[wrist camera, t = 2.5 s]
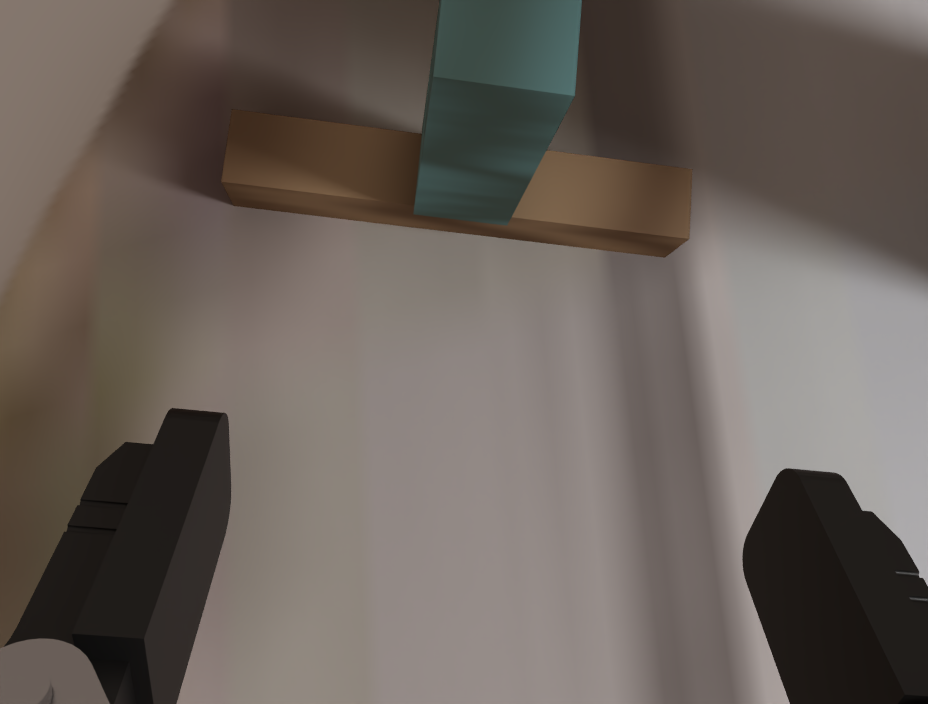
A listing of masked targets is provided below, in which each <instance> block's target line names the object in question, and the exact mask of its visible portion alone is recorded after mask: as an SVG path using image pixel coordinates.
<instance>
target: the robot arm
mask: <svg viewBox="0 0 928 704" xmlns="http://www.w3.org/2000/svg"><path fill="white" fill-rule="evenodd" d="M230 504H231V472H230V446H229V423H228V417H227V414H226V413H218V412H208V411H197V410H187V409H176V408H172V409H170V410H169V411H168V413H167V414H166V416H165V419H164V421H163V423H162V426H161V428H160V430H159V433H158V435H157V437H156V440H155V442H154V444H142V443H131V442H125V443H124V444H123V445H122V446H121V447H119V448H118V449H117V450H116V451H115V452H114V453H112V454H111V455H110V456H109V457H108V458H107V459H106V460H104V461H103V462H102V463H101V464H100V465H99V466H98V467H96V469H95V471H94V473H93V475H92V477H91V479H90V481H89V483H88V485H87V487H86V489H85V491H84V493H83V495H82V497H81V502H80V505H77V507H76V509H75V511H74V513H73V515H72V517H71V519H70V521H69V523H68V529H67V532H64V533H63V535H62V537H61V539H60V541H59V543H58V545H57V547H56V549H55V551H54V553H53V555H52V557H51V559H50V561H49V563H48V565H47V567H46V569H45V571H44V573H43V575H42V577H41V580H40V582H39V584H38V586H37V588H36V590H35V592H34V594H33V596H32V598H31V600H30V602H29V604H28V606H27V608H26V610H25V612H24V614H23V616H22V618H21V620H20V622H19V624H18V626H17V628H16V629H15V631H14V633H13V635H12V636H11V638H10V639H9V641H8V642H7V643H6V644H5V646H4V647H2V648H0V704H176V703H177V700H178V696H179V693H180V689H181V686H182V682H183V679H184V675H185V672H186V669H187V665H188V662H189V658H190V655H191V651H192V648H193V644H194V641H195V637H196V634H197V631H198V627H199V624H200V620H201V617H202V613H203V610H204V606H205V603H206V599H207V596H208V592H209V589H210V586H211V582H212V579H213V575H214V572H215V568H216V565H217V561H218V558H219V554H220V551H221V548H222V544H223V541H224V537H225V533H226V529H227V525H228V519H229V512H230ZM743 571H744V576H745V579H746V582H747V585H748V588H749V591H750V594H751V596H752V599H753V602H754V605H755V608H756V610H757V613H758V616H759V619H760V621H761V624H762V627H763V630H764V633H765V635H766V638H767V641H768V644H769V647H770V649H771V652H772V655H773V658H774V660H775V663H776V666H777V669H778V672H779V674H780V677H781V680H782V683H783V686H784V688H785V691H786V694H787V697H788V699H789V702H790V704H928V586H927V584H926V583H925V581H924V579H923V578H919V570H918V569H917V567H916V565H915V563H914V562H913V560H912V558H911V557H910V555H909V553H908V551H907V550H906V548H905V546H904V544H903V543H902V541H901V540H900V539H899V538H898V537H897V536H896V535H895V534H894V533H893V532H892V531H891V530H890V529H889V528H888V527H887V526H886V525H885V524H884V523H883V522H882V521H881V520H880V519H879V518H878V517H877V516H876V515H875V514H874V513H873V512H870V511H862V510H861V508H860V506H859V504H858V502H857V500H856V499H855V497H854V495H853V493H852V491H851V489H850V488H849V486H848V484H847V482H846V481H845V479H844V478H843V477H842V476H841V475H839V474H837V473H832V472H821V471H810V470H800V469H784V470H782V471H781V472H780V473H779V474H778V475H777V477H776V479H775V481H774V483H773V485H772V487H771V489H770V491H769V493H768V495H767V497H766V499H765V501H764V502H763V504H762V506H761V508H760V510H759V512H758V514H757V516H756V518H755V520H754V522H753V524H752V526H751V528H750V530H749V532H748V534H747V537H746V539H745V543H744V548H743Z"/></svg>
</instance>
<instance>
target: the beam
mask: <svg viewBox="0 0 928 704" xmlns="http://www.w3.org/2000/svg"><path fill="white" fill-rule="evenodd" d="M581 4H582V0H440V1H439V8H438V16H437V23H436V30H435V38H434V45H433V53H432V60H431V67H430V75H429V82H428V90H427V97H426V104H425V112H424V119H423V127H422V134H419V133H411V132H403V131H396V130H388V129H380V128H373V127H365V126H357V125H350V124H342V123H334V122H327V121H319V120H311V119H304V118H296V117H288V116H281V115H273V114H265V113H258V112H250V111H242V110H235V109H232V111H231V118H230V125H229V131H228V138H227V145H226V152H225V159H224V166H223V173H222V180H221V182H222V184H223V186H224V188H225V190H226V192H227V194H228V196H229V198H230V200H231V202H232V203H233V205H234V206H240V207H248V208H256V209H265V210H273V211H281V212H290V213H298V214H306V215H315V216H323V217H331V218H340V219H348V220H356V221H365V222H373V223H381V224H390V225H398V226H406V227H415V228H423V229H431V230H440V231H448V232H456V233H465V234H473V235H481V236H490V237H498V238H506V239H515V240H523V241H531V242H540V243H548V244H556V245H565V246H573V247H581V248H590V249H598V250H606V251H615V252H623V253H631V254H640V255H648V256H656V257H666V256H667V255H669V254H670V253H671V252H673V251H674V250H675V249H677V248H678V247H679V246H680V245H682V244H683V243H684V242H686V241H687V240H688V239H689V231H690V210H691V189H692V169H687V168H679V167H672V166H664V165H656V164H649V163H641V162H633V161H626V160H618V159H610V158H603V157H595V156H587V155H580V154H572V153H564V152H557V151H549V150H547V148H548V146H549V144H550V143H551V141H552V139H553V137H554V135H555V133H556V131H557V129H558V127H559V125H560V123H561V121H562V120H563V118H564V116H565V114H566V112H567V110H568V108H569V106H570V104H571V102H572V100H573V98H574V97H575V87H576V73H577V59H578V46H579V32H580V18H581Z"/></svg>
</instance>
